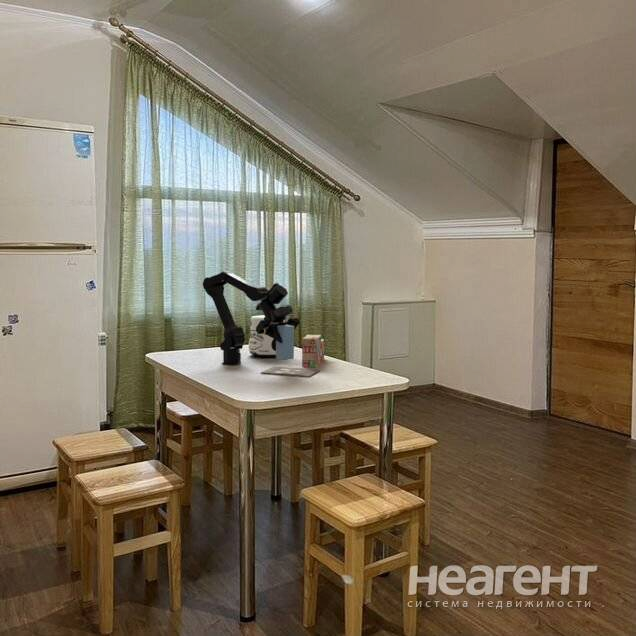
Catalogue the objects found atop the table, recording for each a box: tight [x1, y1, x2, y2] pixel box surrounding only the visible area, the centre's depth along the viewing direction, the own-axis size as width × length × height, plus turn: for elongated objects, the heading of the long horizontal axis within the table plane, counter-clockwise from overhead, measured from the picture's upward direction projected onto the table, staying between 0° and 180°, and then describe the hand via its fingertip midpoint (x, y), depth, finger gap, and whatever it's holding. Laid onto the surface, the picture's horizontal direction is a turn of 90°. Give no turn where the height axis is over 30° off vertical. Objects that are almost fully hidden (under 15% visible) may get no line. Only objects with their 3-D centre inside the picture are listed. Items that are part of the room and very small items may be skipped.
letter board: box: [260, 366, 321, 378], centre depth 258 cm, size 20×14×1 cm
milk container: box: [248, 314, 285, 358], centre depth 298 cm, size 17×17×18 cm
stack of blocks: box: [301, 334, 325, 368], centre depth 281 cm, size 21×6×12 cm, turn 171°
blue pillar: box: [275, 325, 295, 361], centre depth 255 cm, size 5×5×13 cm
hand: (287, 342), depth 254 cm, fingers closed on blue pillar, 5 cm apart
